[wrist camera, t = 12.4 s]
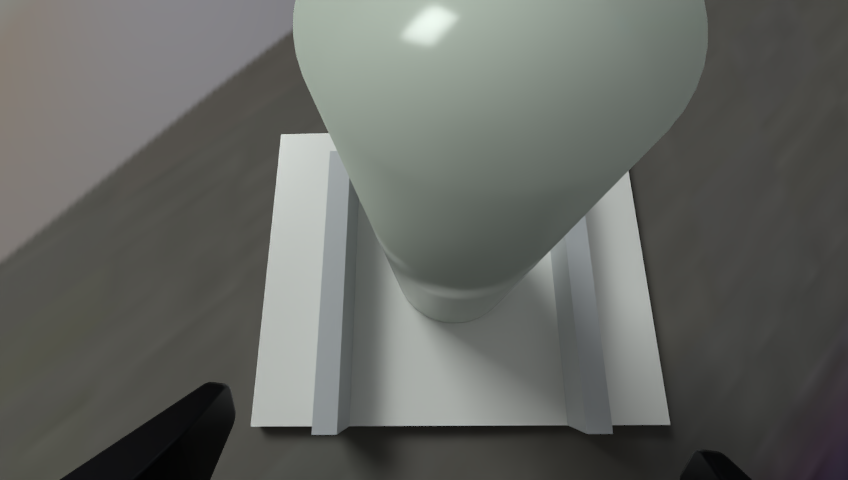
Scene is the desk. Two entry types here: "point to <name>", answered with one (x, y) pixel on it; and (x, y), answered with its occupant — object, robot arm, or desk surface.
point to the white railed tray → (447, 342)
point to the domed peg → (491, 123)
